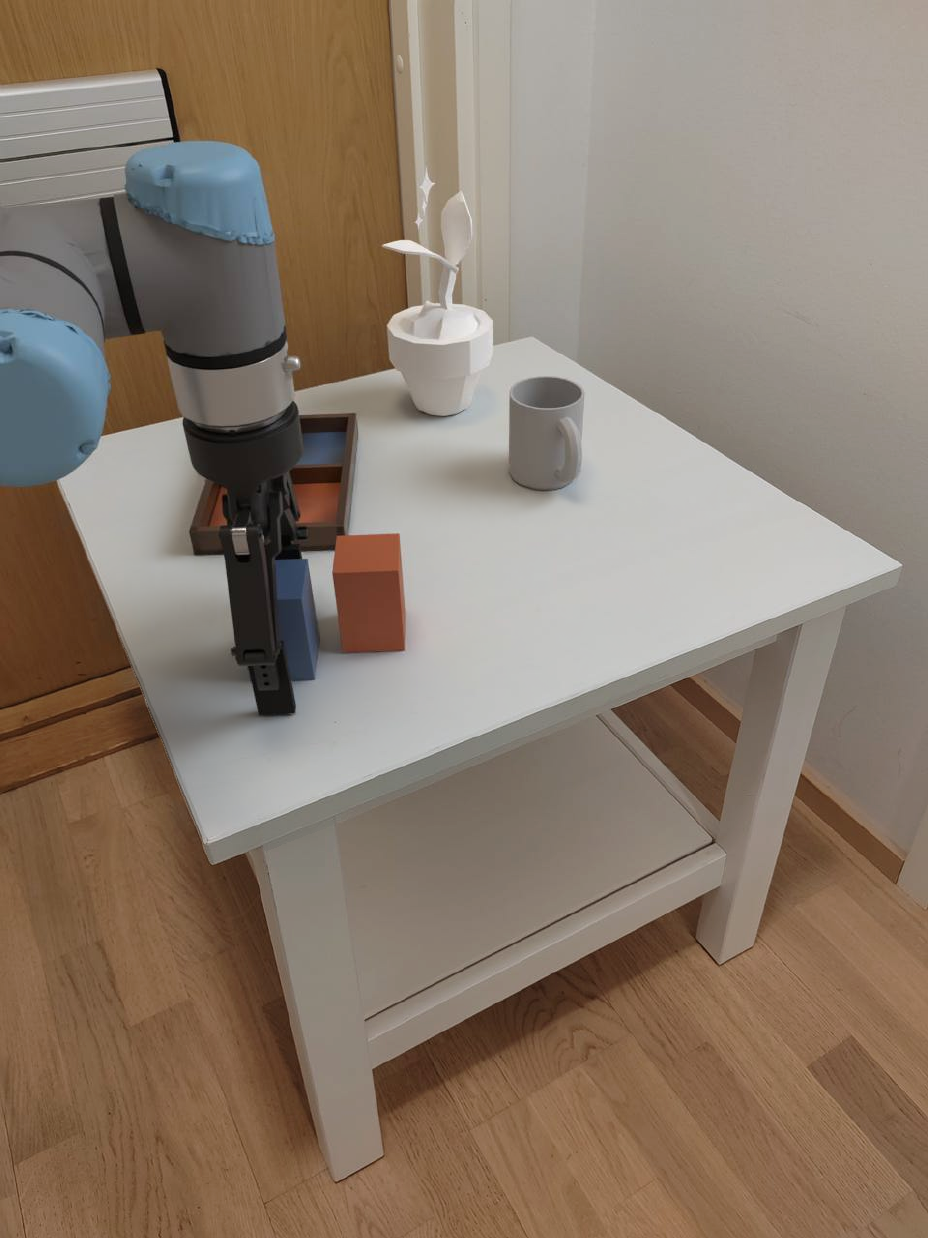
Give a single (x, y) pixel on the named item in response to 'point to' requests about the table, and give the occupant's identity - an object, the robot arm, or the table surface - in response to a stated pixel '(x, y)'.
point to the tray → (300, 487)
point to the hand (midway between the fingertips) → (286, 657)
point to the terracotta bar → (369, 592)
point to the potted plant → (441, 325)
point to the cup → (545, 432)
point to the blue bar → (297, 617)
